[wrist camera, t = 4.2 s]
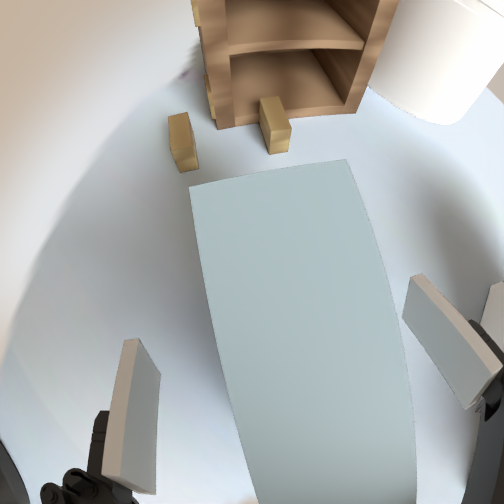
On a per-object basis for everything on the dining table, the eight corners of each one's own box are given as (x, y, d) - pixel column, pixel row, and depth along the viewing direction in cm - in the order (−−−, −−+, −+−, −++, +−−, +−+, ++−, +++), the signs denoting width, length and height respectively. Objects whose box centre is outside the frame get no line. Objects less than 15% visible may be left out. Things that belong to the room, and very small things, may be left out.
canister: (476, 103, 25) (542, 8, 6) (432, 145, 22) (536, -3, 3) (390, 32, 28) (425, -69, 9) (320, 52, 26) (347, -97, 6)
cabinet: (180, 172, 21) (105, -15, 6) (171, 72, 25) (137, -56, 9) (370, 142, 22) (446, -10, 7) (318, 53, 26) (340, -67, 10)
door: (268, 446, 16) (287, 582, 4) (230, 279, 19) (188, 187, 7) (325, 432, 16) (413, 541, 4) (288, 267, 19) (345, 158, 7)
